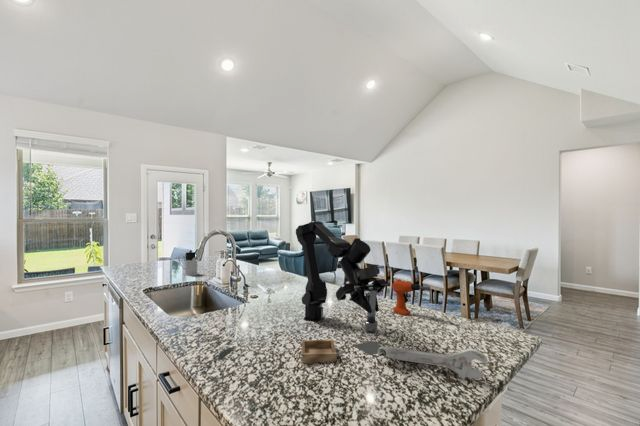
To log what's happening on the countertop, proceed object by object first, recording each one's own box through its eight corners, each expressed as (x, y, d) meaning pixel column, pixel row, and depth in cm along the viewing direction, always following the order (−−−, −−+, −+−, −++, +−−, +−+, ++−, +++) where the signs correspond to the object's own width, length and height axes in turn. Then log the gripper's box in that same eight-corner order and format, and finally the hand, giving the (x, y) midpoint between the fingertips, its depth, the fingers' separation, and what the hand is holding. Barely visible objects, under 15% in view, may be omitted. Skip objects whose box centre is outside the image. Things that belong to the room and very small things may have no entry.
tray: (302, 363, 89) (302, 354, 89) (301, 348, 99) (301, 340, 99) (336, 362, 90) (336, 353, 90) (332, 347, 100) (332, 339, 100)
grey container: (193, 276, 211) (193, 254, 211) (174, 275, 214) (174, 253, 214) (200, 273, 220) (200, 252, 220) (182, 272, 222) (182, 251, 222)
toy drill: (430, 319, 124) (426, 281, 125) (391, 314, 138) (388, 279, 139) (436, 317, 127) (432, 280, 129) (397, 311, 141) (394, 278, 143)
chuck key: (370, 334, 97) (370, 292, 97) (361, 330, 100) (362, 290, 100) (380, 331, 99) (381, 291, 99) (371, 327, 103) (372, 288, 103)
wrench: (381, 363, 96) (490, 382, 80) (378, 366, 95) (489, 385, 78) (378, 337, 97) (486, 350, 80) (376, 339, 95) (485, 352, 79)
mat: (353, 347, 101) (353, 345, 101) (371, 341, 105) (371, 340, 105) (370, 356, 94) (370, 355, 94) (388, 350, 99) (388, 349, 99)
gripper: (341, 259, 98) (364, 302, 89) (384, 255, 108) (408, 294, 99) (327, 279, 104) (347, 322, 95) (368, 274, 115) (389, 312, 106)
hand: (374, 311), depth 99 cm, fingers closed on chuck key, 3 cm apart
